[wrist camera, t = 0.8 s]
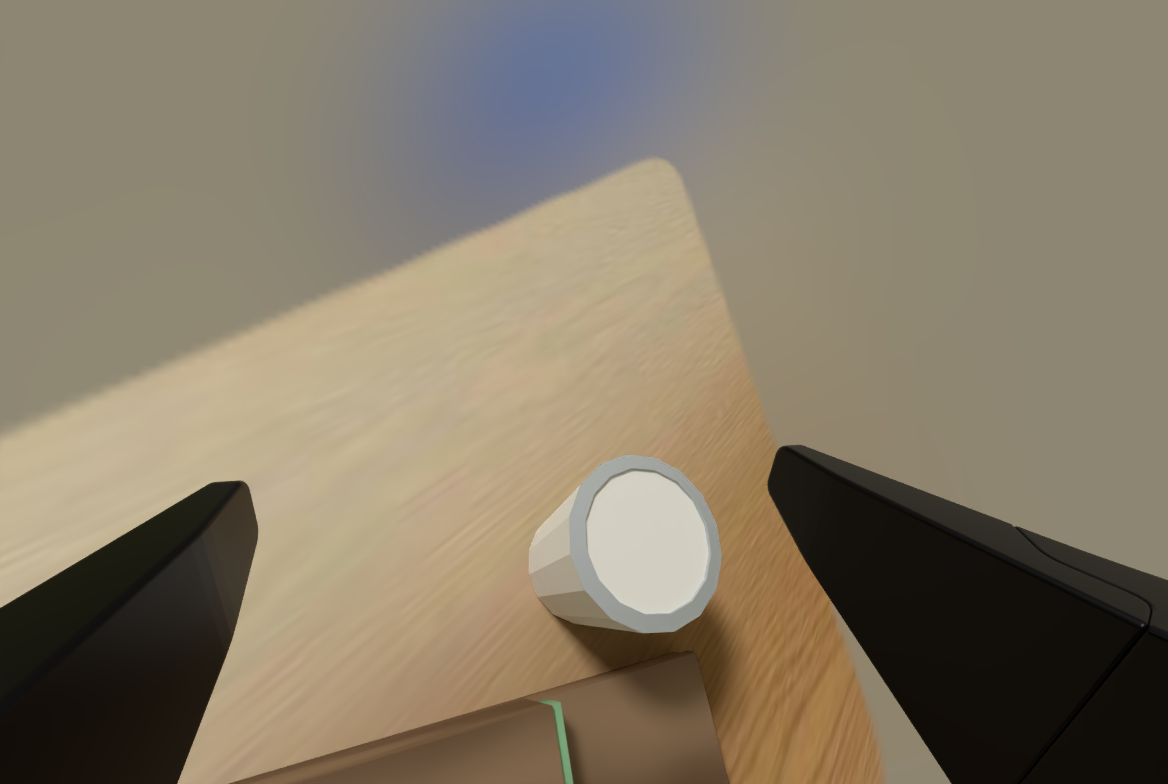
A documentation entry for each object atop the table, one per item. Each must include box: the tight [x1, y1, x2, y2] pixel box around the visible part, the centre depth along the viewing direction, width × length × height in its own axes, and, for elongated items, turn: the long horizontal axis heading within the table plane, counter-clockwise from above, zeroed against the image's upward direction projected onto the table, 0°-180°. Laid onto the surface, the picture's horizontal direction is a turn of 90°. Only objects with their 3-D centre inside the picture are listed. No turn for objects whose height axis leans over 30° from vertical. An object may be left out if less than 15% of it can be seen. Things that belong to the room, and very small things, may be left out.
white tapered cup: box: [529, 455, 722, 633], centre depth 22 cm, size 7×7×7 cm
